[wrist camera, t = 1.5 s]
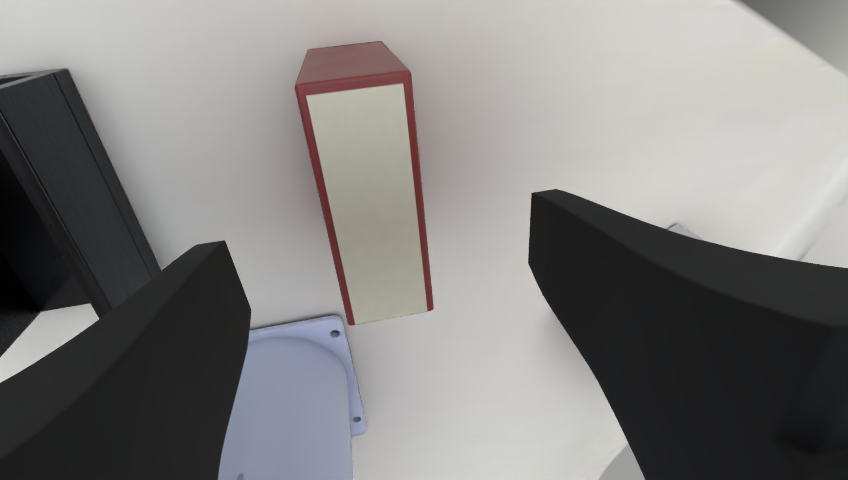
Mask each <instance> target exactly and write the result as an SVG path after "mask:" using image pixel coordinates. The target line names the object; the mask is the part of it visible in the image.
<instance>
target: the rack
mask: <svg viewBox="0 0 848 480" xmlns="http://www.w3.org/2000/svg"><path fill="white" fill-rule="evenodd" d="M160 272H161V270H160V268H159V266H158V264H157V262H156V259H155V257H154V255H153V253H152V251H151V249H150V246H149V244H148V242H147V240H146V238H145V236H144V234H143V231H142V229H141V227H140V225H139V223H138V221H137V218H136V216H135V214H134V212H133V210H132V208H131V206H130V203H129V201H128V199H127V197H126V195H125V193H124V190H123V188H122V186H121V184H120V182H119V180H118V178H117V175H116V173H115V171H114V169H113V167H112V165H111V162H110V160H109V158H108V156H107V154H106V152H105V150H104V147H103V145H102V143H101V141H100V139H99V137H98V134H97V132H96V130H95V128H94V126H93V124H92V122H91V119H90V117H89V115H88V113H87V111H86V109H85V106H84V104H83V102H82V100H81V98H80V96H79V94H78V91H77V89H76V87H75V85H74V83H73V81H72V78H71V76H70V74H69V72H68V70H67V69H57V70H48V71H39V72H31V73H22V74H13V75H4V76H0V357H1V356H2V355H3V354H4V353H5V351H6V350H7V349H8V348H9V347H10V346H11V345H12V344H13V342H14V341H15V340H16V339H17V338H18V337H19V336H20V335H21V333H22V332H23V331H24V330H25V329H26V328H27V327H28V326H29V325H30V323H31V322H32V321H33V320H34V319H35V318H36V317H37V316H38V314H39V313H40V312H41V311H47V310H53V309H59V308H65V307H71V306H77V305H83V304H88V303H91V305H92V307H93V309H94V310H95V312H96V314H97V315H98V317H99V319H100V318H102V317H103V316H104V315H106V314H107V313H108V312H110V311H111V310H112V309H114V308H115V307H116V306H118V305H119V304H120V303H122V302H123V301H125V300H126V299H127V298H128V297H130V296H131V295H132V294H134V293H135V292H136V291H137V290H139V289H140V288H141V287H142V286H144V285H145V284H146V283H147V282H149V281H150V280H151V279H152V278H154V277H155V276H156V275H157V274H158V273H160Z"/></svg>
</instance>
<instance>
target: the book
mask: <svg viewBox="0 0 848 480" xmlns="http://www.w3.org/2000/svg"><path fill="white" fill-rule="evenodd" d="M295 91H296V96H297V100H298V104H299V109H300V113H301V118H302V122H303V127H304V131H305V135H306V140H307V144H308V149H309V153H310V158H311V162H312V167H313V171H314V175H315V180H316V184H317V189H318V193H319V198H320V202H321V206H322V211H323V215H324V220H325V224H326V229H327V233H328V238H329V242H330V246H331V251H332V255H333V260H334V264H335V269H336V273H337V277H338V282H339V286H340V291H341V295H342V300H343V304H344V309H345V313H346V317H347V322H348V324H349V325H359V324H364V323H370V322H375V321H380V320H386V319H391V318H396V317H402V316H407V315H412V314H418V313H423V312H427V311H431V310H433V308H434V306H433V296H432V286H431V275H430V265H429V255H428V245H427V234H426V224H425V214H424V203H423V193H422V183H421V172H420V162H419V152H418V141H417V131H416V121H415V111H414V100H413V90H412V80H411V73H410V71H409V70H408V69H407V67H406V66H405V65H404V64H403V63H402V62H401V61H400V60H399V59H398V58H397V57H396V56H395V55H394V54H393V53H392V52H391V51H390V50H389V49H388V48H387V47H386V46H385V44H384V43H383V42H381V41H377V42H368V43H360V44H351V45H342V46H334V47H325V48H317V49H309V50H308V51H307V54H306V57H305V59H304V62H303V65H302V68H301V70H300V73H299V76H298V79H297V81H296V84H295Z"/></svg>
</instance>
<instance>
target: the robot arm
mask: <svg viewBox="0 0 848 480" xmlns="http://www.w3.org/2000/svg"><path fill="white" fill-rule="evenodd" d="M528 263H529V266H530V268H531V270H532V273H533V275H534V277H535V279H536V282H537V284H538V286H539V288H540V290H541V292H542V294H543V296H544V298H545V299H546V301H547V302H548V304H549V306H550V307H551V309H552V310H553V312H554V313H555V315H556V316H557V318H558V320H559V321H560V323H561V324H562V326H563V327H564V329H565V330H566V332H567V333H568V335H569V336H570V338H571V339H572V341H573V342H574V344H575V346H576V347H577V349H578V350H579V352H580V353H581V355H582V356H583V358H584V359H585V361H586V362H587V364H588V365H589V367H590V369H591V370H592V372H593V374H594V376H595V377H596V379H597V381H598V382H599V384H600V386H601V388H602V390H603V392H604V394H605V396H606V398H607V400H608V402H609V404H610V406H611V408H612V410H613V412H614V414H615V416H616V418H617V420H618V422H619V424H620V426H621V428H622V430H623V432H624V434H625V437H626V439H627V441H628V443H629V445H630V447H631V449H632V451H633V453H634V455H635V458H636V460H637V462H638V464H639V466H640V469H641V471H642V473H643V475H644V478H645V480H848V268H840V267H833V266H826V265H819V264H813V263H807V262H800V261H794V260H788V259H783V258H778V257H773V256H768V255H763V254H757V253H752V252H748V251H743V250H739V249H734V248H730V247H726V246H722V245H718V244H715V243H711V242H707V241H703V240H699V239H696V238H692V237H689V236H685V235H682V234H679V233H676V232H673V231H670V230H667V229H664V228H661V227H658V226H655V225H652V224H649V223H646V222H643V221H641V220H638V219H635V218H633V217H630V216H627V215H625V214H622V213H620V212H617V211H614V210H612V209H609V208H607V207H604V206H602V205H599V204H597V203H594V202H592V201H589V200H587V199H584V198H582V197H579V196H576V195H574V194H571V193H568V192H565V191H561V190H557V189H554V190H548V191H541V192H535V193H532V197H531V217H530V237H529V257H528ZM250 319H251V308H250V305H249V303H248V300H247V297H246V295H245V292H244V289H243V287H242V284H241V282H240V279H239V276H238V274H237V271H236V268H235V266H234V263H233V260H232V258H231V255H230V252H229V250H228V247H227V245H226V242H225V240H224V241H217V242H211V243H204V244H198V245H196V246H194V247H192V248H191V249H189V250H188V251H187V252H185V253H184V254H182V255H181V256H180V257H179V258H177V259H176V260H175V261H173V262H172V263H171V264H170V265H168V266H167V267H166V268H165V269H163V270H162V271H161V272H160V273H158V274H157V275H156V276H155V277H154V278H152V279H151V280H150V281H149V282H147V283H146V284H145V285H144V286H142V287H141V288H140V289H139V290H137V291H136V292H135V293H134V294H132V295H131V296H130V297H128V298H127V299H126V300H125V301H123V302H122V303H120V304H119V305H118V306H116V307H115V308H114V309H112V310H111V311H110V312H108V313H107V314H106V315H104V316H103V317H102V318H100V319H99V320H98V321H96V322H95V323H94V324H92V325H91V326H90V327H88V328H87V329H86V330H84V331H83V332H81V333H80V334H78V335H77V336H75V337H74V338H72V339H71V340H70V341H68V342H67V343H65V344H64V345H62V346H61V347H59V348H57V349H56V350H54V351H53V352H51V353H50V354H48V355H46V356H45V357H43V358H42V359H40V360H39V361H37V362H35V363H34V364H32V365H31V366H29V367H27V368H26V369H24V370H22V371H21V372H19V373H17V374H16V375H14V376H12V377H10V378H8V379H7V380H5V381H3V382H1V383H0V480H353V460H352V439H351V437H352V436H357V435H361V434H363V433H365V432H366V430H367V423H366V419H365V415H364V410H363V406H362V402H361V397H360V393H359V389H358V385H357V380H356V376H355V372H354V367H353V363H352V359H351V354H350V350H349V346H348V341H347V337H346V333H345V328H344V324H343V320H342V319H341V318H340V317H339V316H336V315H332V316H326V317H321V318H315V319H310V320H304V321H299V322H293V323H288V324H283V325H277V326H272V327H266V328H261V329H255V330H250ZM334 330H338V331H339V332H337V333H333V332H332V331H334Z"/></svg>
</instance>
